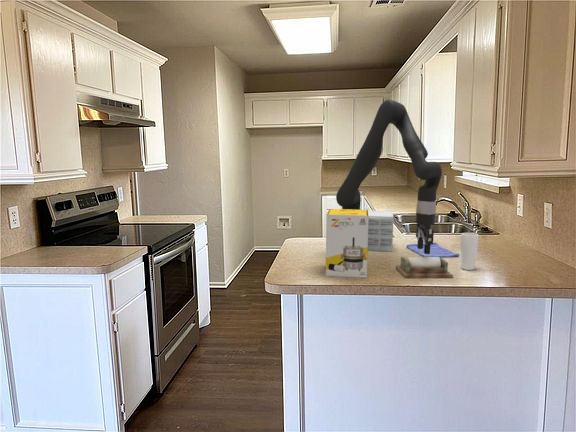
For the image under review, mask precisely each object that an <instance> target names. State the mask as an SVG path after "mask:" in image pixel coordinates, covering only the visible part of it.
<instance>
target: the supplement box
mask: <svg viewBox="0 0 576 432" xmlns="http://www.w3.org/2000/svg"><path fill="white" fill-rule="evenodd" d="M368 215H369V217H368V252H380V253H381V252H383V253H384V252H386V253H387V252H388V253H392V252H393V241H394V239H393V238H394V220H395V219H394V214H393V211H388V210H387V211H384V210H383V211H381V210H368Z"/></svg>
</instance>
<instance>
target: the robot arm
mask: <svg viewBox="0 0 576 432" xmlns="http://www.w3.org/2000/svg"><path fill="white" fill-rule="evenodd" d="M390 124H391V125H393V126H394V127H395V128H396V130H397V131H399V134H400V136H401V140H402V141H401V143H402V145H403V149H404V151H405V152H406V154H407V156H408V157H409V159H410V161H411V165H412V169H413V173H414V174H415V176H416V177H417V178H418V179H420V180H421V181H424V183H423V185H420V186H419V187H418V189H417V200H416V201H417V202H416V208H415V209H416V210H415V224H416V230H415V237H416V239H417V244H418V245H417V248H418V249H423V244H425V245H424V254H430V245H431V244H433V243H434V237H435V235H434V230H435V229H433V228H431V226H432V225H435V224H436V218H437V217H436V215H437V214H436V213H437V190H438V188H439V184H440V182H441V178H442V174H443V169H442V166H441V164H440V163H439V162H437V161H427V160H426V159H427V158H428V155H429V153H428V150H427V148H426V146H425V145H424V144H423V142H422V140H421V139H420V136H419V135H418V133H417V132H416V130H415V128H414V126H413V123H412V121H411V118H410V116H409V113H408V111H407V109H406V107H405V105H404V104H402V103H401V102H398V101H397V100H396V101H395V100H393V99H386V100H385V101H382V103H381V104H380V106H379V107H378V110H377V112H376V114H375V117H374V119H373V122H372V125H371V127H370V129H369V132H368V134H367V135H366V138H365V140H364V142H363V144H362V145H361V148H360V149H359V152H358V153H357V155H356V157H355V160H354V161H353V164H352V165H351V168H350V170H349V172H348V174H347V176H346V178H345V180H344V181H343V183H342V184H341V185H340V187H339V188H338V190H337V192H336V195H335V200H336V203H337V205H338V206H340V207H341V209H351V210H361V201H362V200H361V199H362V195H361V192H360V190H359V188H360V186H361V184H362V182H364V181H365V179H366V178H367V177H368V176H369V175H370V174H371V172H372V171H373V170H374V169H375V167H376V166H377V163H378V161H379V160H380V158H381V156H382V152H383V142H384V141H383V140H384V135H385V133H386V131H387V128H388V127H389V126H390Z"/></svg>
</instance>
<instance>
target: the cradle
mask: <svg viewBox="0 0 576 432" xmlns="http://www.w3.org/2000/svg"><path fill="white" fill-rule="evenodd" d="M439 258H440V261H441V268H410V262H409V261H407V258H406V257H404V256H401V257H400V265H395V269H396V271H397V272H399V274H400V275H401V276H402V277H403V278H404V279H453V278H454V274H452V273H451V272H450V271H448V267H449V262H448V261H446V260H445V258H441V257H439Z"/></svg>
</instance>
